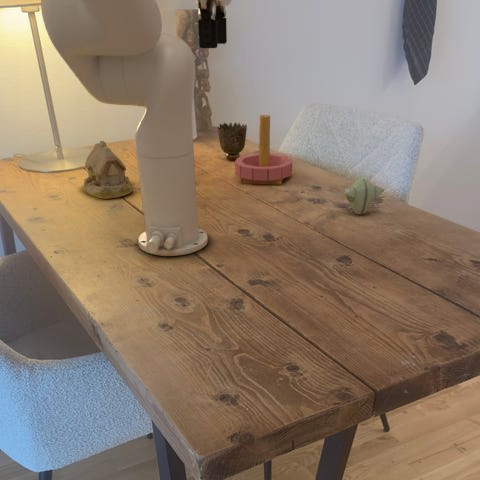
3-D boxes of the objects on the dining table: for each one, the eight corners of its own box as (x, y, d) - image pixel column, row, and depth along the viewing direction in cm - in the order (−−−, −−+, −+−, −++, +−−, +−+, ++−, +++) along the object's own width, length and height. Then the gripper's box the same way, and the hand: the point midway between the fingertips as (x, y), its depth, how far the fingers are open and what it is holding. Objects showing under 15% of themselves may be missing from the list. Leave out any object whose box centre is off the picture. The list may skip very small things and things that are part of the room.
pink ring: (289, 181, 127) (289, 169, 126) (231, 179, 129) (231, 167, 127) (293, 165, 137) (294, 154, 136) (240, 164, 139) (240, 152, 137)
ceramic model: (77, 185, 131) (68, 138, 125) (122, 178, 135) (116, 132, 129) (96, 202, 122) (87, 152, 115) (144, 193, 126) (139, 144, 120)
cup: (241, 164, 143) (241, 129, 138) (214, 162, 145) (213, 127, 140) (250, 156, 149) (250, 122, 144) (224, 154, 151) (223, 121, 146)
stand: (281, 184, 130) (283, 120, 121) (242, 183, 131) (242, 119, 122) (284, 173, 137) (286, 112, 128) (247, 172, 138) (247, 111, 129)
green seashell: (344, 219, 111) (348, 183, 107) (337, 212, 114) (340, 177, 110) (382, 215, 113) (387, 180, 108) (374, 209, 116) (378, 174, 111)
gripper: (223, -85, 86) (225, 50, 96) (239, -75, 99) (240, 42, 110) (175, -84, 87) (182, 49, 97) (198, -75, 100) (202, 42, 111)
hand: (213, 45), depth 104 cm, fingers open, 9 cm apart
